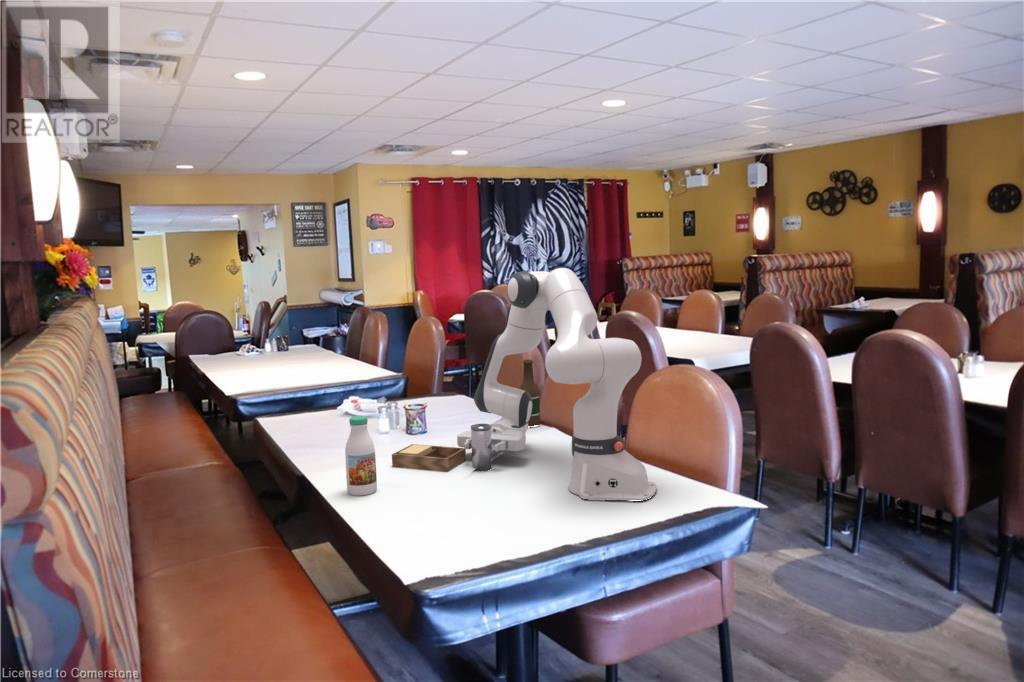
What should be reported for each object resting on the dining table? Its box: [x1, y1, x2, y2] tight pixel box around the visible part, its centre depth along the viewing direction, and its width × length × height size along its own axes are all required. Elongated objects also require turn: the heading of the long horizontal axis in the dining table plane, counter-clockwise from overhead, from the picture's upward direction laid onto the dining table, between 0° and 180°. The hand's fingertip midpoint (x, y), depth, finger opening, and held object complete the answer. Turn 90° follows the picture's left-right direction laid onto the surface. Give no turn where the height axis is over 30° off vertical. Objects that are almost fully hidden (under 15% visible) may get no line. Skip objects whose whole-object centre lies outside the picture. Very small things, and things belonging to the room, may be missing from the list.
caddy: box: [391, 443, 467, 473], centre depth 210 cm, size 18×12×4 cm, turn 68°
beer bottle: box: [518, 359, 541, 426], centre depth 256 cm, size 8×8×24 cm
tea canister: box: [470, 423, 493, 473], centre depth 205 cm, size 6×6×13 cm
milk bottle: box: [344, 415, 378, 497], centre depth 187 cm, size 8×8×20 cm
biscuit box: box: [399, 444, 433, 456], centre depth 211 cm, size 6×9×4 cm, turn 158°
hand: (480, 447), depth 204 cm, fingers open, 7 cm apart
